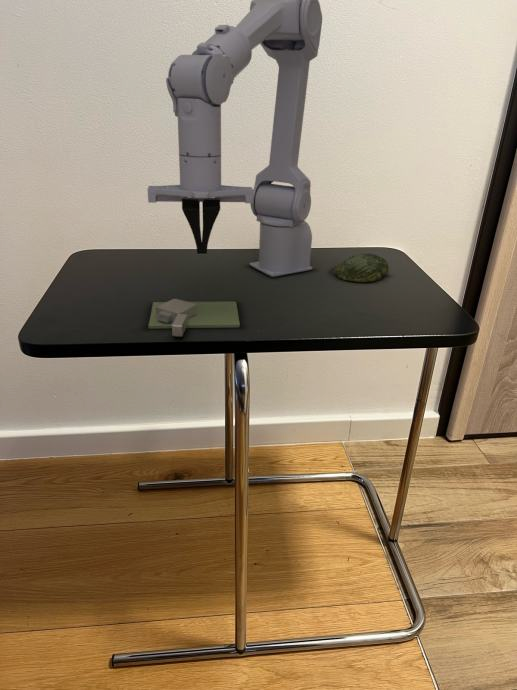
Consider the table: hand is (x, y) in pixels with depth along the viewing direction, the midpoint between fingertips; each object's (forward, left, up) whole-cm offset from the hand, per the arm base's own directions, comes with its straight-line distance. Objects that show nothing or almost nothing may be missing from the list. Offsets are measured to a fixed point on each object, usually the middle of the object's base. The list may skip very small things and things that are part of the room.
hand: (201, 251), depth 80 cm
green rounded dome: (-34, -1, -10) cm, 35 cm away
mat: (+2, +1, -9) cm, 10 cm away
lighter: (+2, +2, -8) cm, 8 cm away
